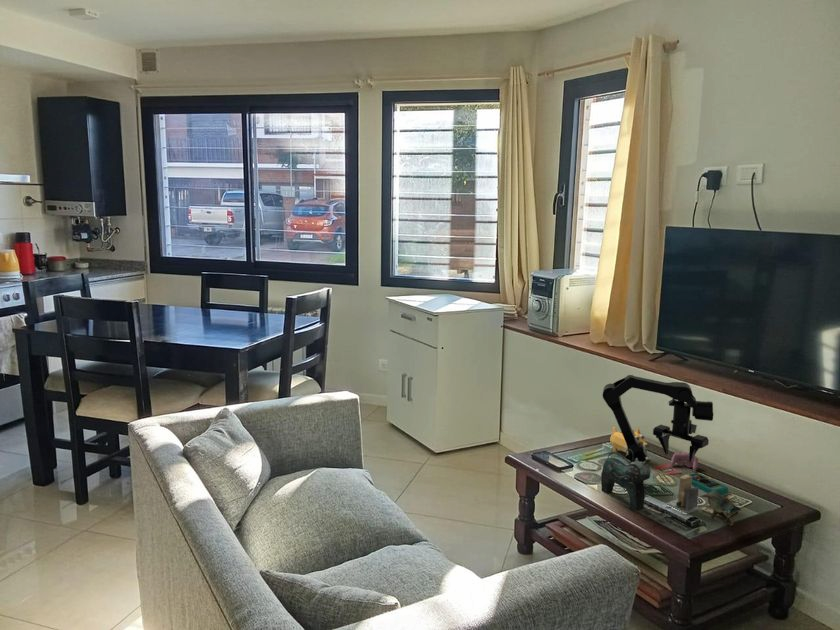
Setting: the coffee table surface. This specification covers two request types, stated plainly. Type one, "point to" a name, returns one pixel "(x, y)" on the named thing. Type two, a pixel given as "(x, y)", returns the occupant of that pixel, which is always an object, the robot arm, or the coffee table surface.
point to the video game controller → (684, 456)
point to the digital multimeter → (707, 484)
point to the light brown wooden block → (684, 489)
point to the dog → (620, 442)
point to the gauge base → (687, 501)
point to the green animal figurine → (626, 478)
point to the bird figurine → (721, 506)
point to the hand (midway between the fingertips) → (678, 458)
